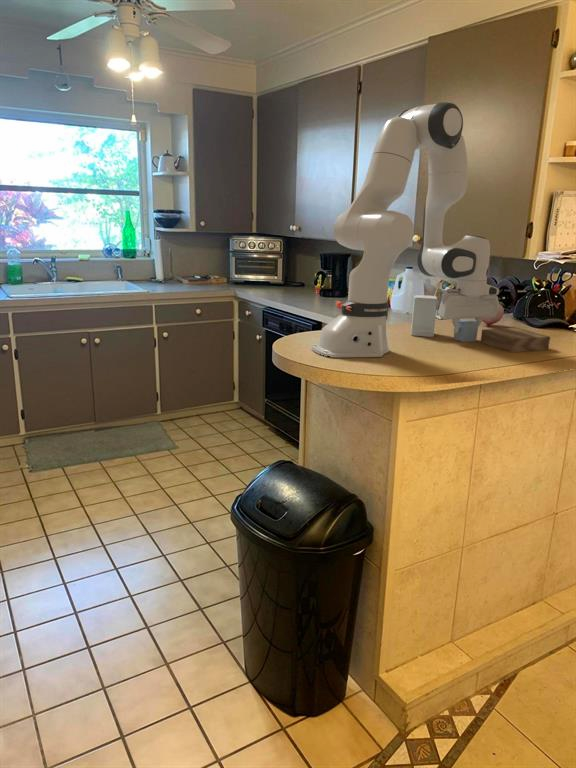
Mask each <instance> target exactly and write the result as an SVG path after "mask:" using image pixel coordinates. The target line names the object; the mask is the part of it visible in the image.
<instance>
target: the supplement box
mask: <svg viewBox="0 0 576 768" xmlns="http://www.w3.org/2000/svg"><path fill="white" fill-rule="evenodd" d="M412 304H413V305H412V314H411V327H410V335H411V336H414V337H427V338H428V337H429V338H433V337H434V334H435V333H434V332H435V326H436V325H435V324H436V315H437V314H436V313H437V307H438V306H437V305H438V297H437V296H436V295H423V294H421V295H419V294H415V295H414V296H413V303H412Z"/></svg>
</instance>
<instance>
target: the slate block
mask: <svg viewBox="0 0 576 768" xmlns="http://www.w3.org/2000/svg"><path fill="white" fill-rule="evenodd" d="M458 324H459V327H462V328H461V332H460V333H456V332H454V331H453V340H456V341H459V342H462V343H471V342H477V338H478V331H479V326H478V322H475V320H471V319H460V322H458Z"/></svg>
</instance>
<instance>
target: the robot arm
mask: <svg viewBox="0 0 576 768" xmlns="http://www.w3.org/2000/svg"><path fill="white" fill-rule="evenodd" d="M463 117H464V116H463V114H462V111H461V110H460V108H459V107H458V106H457V105H456V104H455V103H454V102H447V101H445V102H443V101H442V102H441V101H440V102H438V103H434V104H423V105H419V106H416V107H414V108H410V109H406V110H404V111H402V112H400V113H398V114H397V115H396V116H394V117H392V118H389V119H388V120H387V121H386V122H385V123H384V124H383V126H382V128H381V130H380V133H379V135H378V137H377V140H376V142H375V145H374V148H373V151H372V154H371V159H370V162H369V166H368V168H367V172H366V175H365V179H364V181H363V184H362V186H361V187H360V190H359V192H358V194H357V195H356V197H355V199H353V201H352V203H351V204H350V205H349V207H347V209H346V210H344V211H343V212H342V213H341V214H339V215H338V216H337V217H336V219H335V221H334V224H333V225H334V226H333V236H334V238H335V241H336V242H337V243H338V244H340V246H343V247H345V248H347V249H351V250H355V251H363V256H362V258H361V260H360V263H359V264H358V265H356V267H354V268H353V269H352V270H351V272H350V273H349V276H348V277H349V279H348V295H347V300H346V301H345V302H344V301H343V302H342V301H339V300H337V301H336V302H335V303H334V304H335V307H336V309H339V310H341V313H340V314H338V316H336V317H335V318H334V319H332V320H331V321H330V322H328V323H327V324H325V326H323V327H322V329H321V332H320V334H319V340H318V342H317V343H316V342H315V343H312V344H311V347H310V348H311V350H312V351H313V352H315V354H316V353H317V354H319V355H320V354H321V356H323V355H324V356H323V357H327V356H330V357H329V358H381V357H383V356H384V355H385V354H387V353H389V351H390V350H389V345H388V337H387V320H388V314H389V302H388V294H389V285H390V278H391V277H390V276H391V272H392V270H393V268H394V265H395V262H396V261H397V259H398V258H399V256H400V255H401V254H402V253H403V252H404V251H405V250H406V249H408V248H409V246H410V245H411V243H412V241H413V239H414V236H415V235H414V234H415V229H414V224H413V220H412V219H411V218H410V217H409V216H408V215H407V214H405V213H402V212H400V211H399V212H398V211H395V210H388V208H390V206H391V205H392V204H393V203H394V202H395V201H397V200H398V199H399V198H401V197H402V195H403V194H404V192H405V190H406V186H407V184H408V179H409V175H410V171H411V168H412V165H413V163H414V162H413V161H414V157H415V152H416V150H419V149H422V150H423V149H424V150H426V152H427V155H428V164H427V165H428V169H427V170H428V171H427V172H428V177H427V178H428V181H427V182H428V183H427V184H428V186H427V194H426V198H425V201H424V206H423V219H422V235H421V236H422V237H421V238H422V239H421V245H420V249H419V251H418V254H417V266H418V267H417V268H418V269H419V271H420V272H421V274H423V275H424V276H427V277H434V278H435V277H436V278H437V277H438V278H441V279H451V280H452V279H453V280H454V279H457V281H456V288H454V289H452V288H447V289H446V290H444V291H443V292H442V294H441V300H440V304H439V308H438V317H439V318H440V319H442V320H443V319H444V320H451V323H452V324H453V327H454V328H453V333H454V332H456V333H460V332H461V328H462V327H459V324H458V322H460V320H467V319H474V322H478V327H480V325H481V324H482V323H483V322H482V318H490V317H495V316H496V314H497V311H498V302H499V297H498V295H499V293H500V289H499V287H495V286H493V285H491V284H488V281H487V280H488V275H487V271H488V268H489V266H490V257H491V243H490V241H489V239H487V238H486V237H484V236H479V235H474V234H467V235H464V236H463V237H462V239H460V240H459V241H457V242H456V243H453V244H451V245H445V244H444V243H443V235H444V234H443V233H444V232H443V231H444V221H445V220H444V219H445V216H446V213H447V211H448V210H449V209H450V208H451V207H452V206H453V205H454V204H456V203H458V202H459V201H460V200H461V199H462V197H464V195H465V194H466V191H467V188H468V181H469V180H468V179H469V173H468V171H469V170H468V169H469V168H468V167H469V166H468V164H469V163H468V155H467V153H468V152H467V147H466V142H465V138H464V136H463V134H462V133H463V128H464V118H463Z"/></svg>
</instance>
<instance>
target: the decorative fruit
mask: <svg viewBox="0 0 576 768" xmlns="http://www.w3.org/2000/svg"><path fill="white" fill-rule="evenodd" d="M503 306H504V307H506V305H505V304H504V303H503V302H501V301H498V311H497V314H496V316H495V317H490V318H482V322H481V323H484V324H485V325H487V326H491V325H492V326H493V325H494V324H497V323H498V322H500V321H501V319H502V318H503V316H504V314H505V312H504V311H505V310H504V309H505V308H504V307H503Z"/></svg>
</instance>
